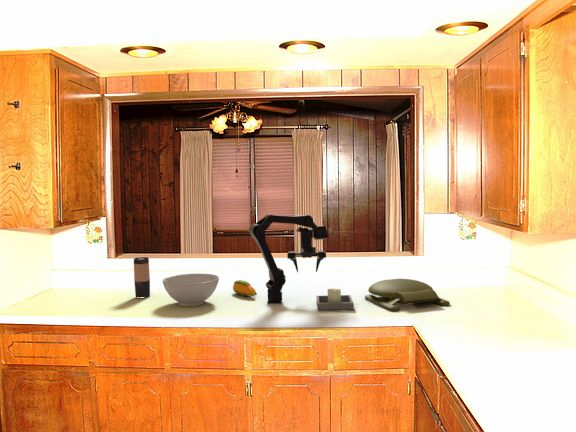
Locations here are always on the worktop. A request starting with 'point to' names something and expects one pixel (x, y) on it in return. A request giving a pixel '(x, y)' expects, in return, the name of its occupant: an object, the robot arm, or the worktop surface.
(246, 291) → the corn
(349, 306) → the serving bin
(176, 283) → the decorative bowl
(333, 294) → the salad tub
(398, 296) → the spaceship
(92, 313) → the worktop surface
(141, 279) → the travel mug
